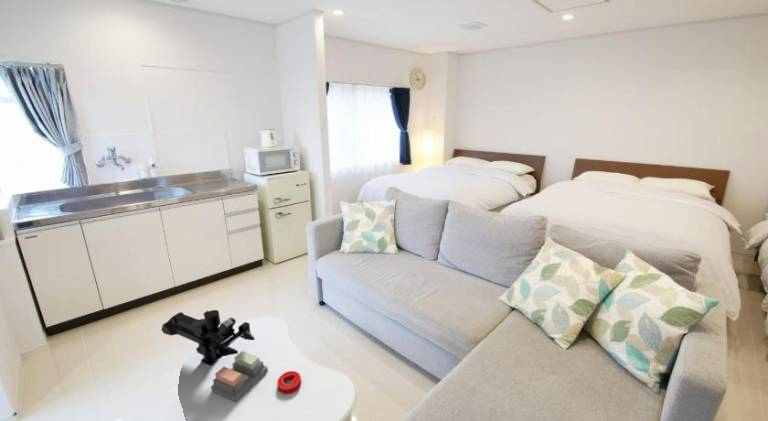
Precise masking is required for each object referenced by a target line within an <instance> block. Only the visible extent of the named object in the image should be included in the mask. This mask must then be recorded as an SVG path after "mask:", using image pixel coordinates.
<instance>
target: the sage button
mask: <svg viewBox="0 0 768 421" xmlns="http://www.w3.org/2000/svg"><path fill="white" fill-rule="evenodd" d="M260 361H261V360H260V357H259V356H256V355H254V354H251V353H248V352H246V351H244V350H241V351H240V352H238V353H237V355H235V357H234V362H235V363H236V364H238V365H240V366H243V367H245V368H247V369H250V370H252V371H253V370H254V369H255V368H256V367H257V366H258V365H259V364H260Z"/></svg>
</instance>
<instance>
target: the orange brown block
mask: <svg viewBox="0 0 768 421" xmlns="http://www.w3.org/2000/svg"><path fill="white" fill-rule="evenodd" d="M214 375H215V378H216V380H217V381H219V382H221V383H223V384H226V385H228V386H230V387H232V388H235V387H236V386H237V385H238V384H239V383H240V382H241V381H242V375H241V373H238V372H236V371H233V370H231V368H228V367H226V366H223V367H221V368H220V369H219V370H218V371H217V372H215V373H214Z"/></svg>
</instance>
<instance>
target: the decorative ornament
mask: <svg viewBox="0 0 768 421" xmlns="http://www.w3.org/2000/svg"><path fill="white" fill-rule="evenodd" d="M290 381H291V384H288V385H287V384H286V383H287V382H290ZM276 385H277V389H278V391H279V393H280V394H283V395H291V394H293V393H294V394H295V392H297V391H298V390H299V389H300V388H301V385H302V377H301V375H300V373H299V372H297V371H295V370H290V371H286V372H284V373H283V374H280V376H279V377H278V379H277V384H276Z"/></svg>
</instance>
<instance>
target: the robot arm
mask: <svg viewBox="0 0 768 421" xmlns="http://www.w3.org/2000/svg"><path fill="white" fill-rule="evenodd" d="M203 316H204V317H203V318H200V319H197V318H195V317H193V316H189V315H186V314H184V313H183V312H177V313H176V314H174V315H173V316H171V318H169V320H168V321H166V322H165V323H162V325H161V326H162V327H161V331H162V333H163V334H165V335H168V336H175V335H179V336H180V337H183V338H185V339H187V340H190V341H191V342H195V343H196V344H197V345H198V346H197V347H196V349H195V350H196V352H197V354H200V355H202V356H203V357H202V359H200V362H202V363H204V364H206V365H209V366H212V365H213V364H214V363H215V362H216V361H218V360H219V359H220V358H223V357H227V356H230V355H236V354H237V355H238V354H239V352H238V350H237V349H235V348H233V347H231V346H230V345H232V344H233V343H234V342H235V341H236V340H238V339H239V338H241V339H243V340H248V341H254V340H255V337H254V336H253V334H252V333H251V326H250V323H249V322H246V321H244V322H243V323H242V324H240V325H239V326H238V327H237V329H238V331H237V332H235V328H234V325H235V324H236V322H237V321H236V319H235V318H233V317H229V318H228V319H226V320H224V321H223V322H222V321H221V317H220V312H219V310H217V309H213V310H206V311H205V312H203Z"/></svg>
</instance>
